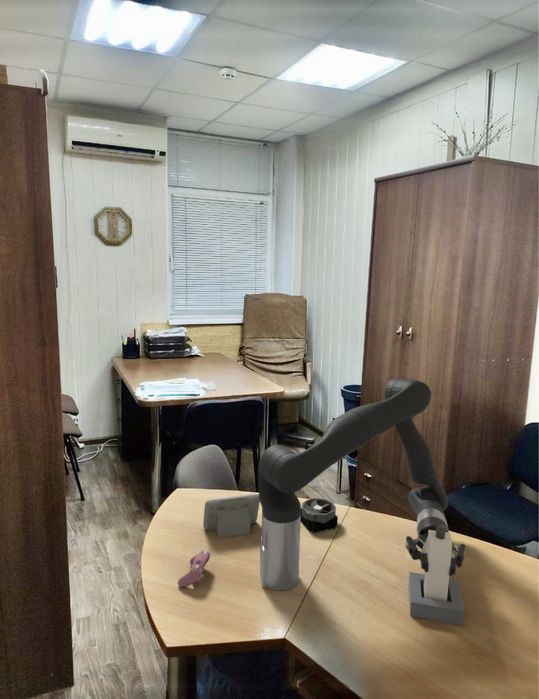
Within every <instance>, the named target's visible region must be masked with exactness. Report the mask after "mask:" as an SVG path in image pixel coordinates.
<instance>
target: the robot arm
mask: <svg viewBox="0 0 539 699" xmlns="http://www.w3.org/2000/svg"><path fill="white" fill-rule="evenodd" d="M383 393H384V394H383V395H384V396H383V398H384V400H380V401H376V402H373V403H369V404H364V405H361V406H357V407H354V408H351V409H350V410H347V411H346V412H344V413H342V414H340V415H339V416H337V417H335V418H334V419H333V420H331V422H329V423H328V425H327V427H326V428H325V431H324V432H323V434H322V436H321V438H320V440H318V442H316V443H314V445H311V446H310V447H309V448H307V449H305V450H303V451H300V452H298V453H297V452H296V451H293V450H291V449H290V448H288V447H286V446H284V445H281V444H273V445H270V446H269V447H268V448H266V449H265V451H264V452H263V453H262V455H261V457H260V459H259V463H258V470H257V474H258V475H257V476H258V477H257V478H258V479H257V480H258V494H259V500H260V506H261V537H260V538H259V539H260V544H259V549H260V550H259V551H260V552H259V576H260V580H261V587H262V588H268V589H271V590H273V591H274V590H275V591H286V590H290V589H292V588H294V587H295V586H297V584H298V583H299V579H300V578H299V575H300V548H301V547H300V546H301V545H300V544H301V543H300V542H301V522H300V521H301V508H302V503H301V502H300V499H299V498H298V496H297V494H296V492H298V491H300V490H302V489H303V488H305V487H306V486H308V485H309V484H310V483H311V482H312V481H314V479H316V478H317V477H319V475H321V474H322V473H324V472H325V471H326V470H328V469H329V468H330V467H332V466H333V465H335V464H336V463H338V462H339V461H341V460H342V459H344V458H345V457H347V456H348V455H350V454H351V453H353V452H355V451H357V450H358V449H360V448H361V447H363V446H366V444H368V443H369V442H371V441H373V439H376V438H377V437H379V436H380V435H383V433H385V432H386V431H388V430H390V429H392V428H393V427H394V428H395V431H396V432H397V434H398V438H399V440H400V443H401V445H402V449H403V451H404V452H403V453H404V455H405V460H406V465H407V469H408V473H409V474H408V475H409V477H410V481H412V482H413V483H415V484H419V485H426V486H419V487H414V488H412V489H411V490H410V491H409V492H408V496H407V498H408V503H409V506H410V507H411V510H412V511H413V513H414V514H415V515H416V519H417V520H416V531H417V532H416V533H417V537H416V539H415V538H414V539H413V538H412V537H411V535H410V536H409V535H407V536H406V537H405V538H406V539H405V548H406V550H407V552H408V554H409V555H410V557H411V559H412V560H414V561H417V560H418V561H420V568H421V569H422V570H423V571H424V573H425V572H428V566H429V563H428V557H427V542H428V531H429V530H433V531H436V525H439V524H440V525H444V526H445V527H446V532H448V533H450V530H449V526H448V523H447V519H446V517H445V513H444V512H445V510H446V509H447V507H448V504H449V498H448V496H447V492H446V491H445V489H444V487H443V485H442V484H441V482H440V481H439V478H438V476H437V472H436V469H435V464H434V460H433V456H432V451H431V450H430V448H429V445H428V443H427V441H426V440H425V438H424V437H423V436H422V434H421V432H420V431H419V430H418V428H417V426H416V425H415V421H414V420H413V417H415V416H418V415H419V414H421V413H423V412H424V411H425V410H426V409H427V408H428V406H429V405H430V403H431V399H432V391H431V389H430V387H429V386H428V384H426V382H424V381H421V380H418V379H411V378H393V379H392V378H391V379H390V380H389V381H388V382H387V384H386V385H385V387H384V391H383ZM419 549H420V550H419ZM453 551H454V552H455V554H456V556H455V555H454V553H453ZM465 554H466V544H464V543H460V544H459V545H456V544H454V542H453V541H452V553H451V563H450V570H449V577H453V575H455V574H456V573H457V570H456V569H457V567H458V568H461V567H462V565H463V562H464V559H465V556H466V555H465Z"/></svg>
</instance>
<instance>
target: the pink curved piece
mask: <svg viewBox="0 0 539 699" xmlns="http://www.w3.org/2000/svg"><path fill="white" fill-rule="evenodd" d="M211 555H212V553H211V552H209V551H208V550H204V549H202V550H200V552H199V553H197V554H195V555H194V556H192V557H191V558H190V560H189V565H191V568H190V569H189V571H188V572H187V573H185V574H184V575H183V576H181V577H180V578H179V579H178V581H177V585H178V586H179V587H180V588H186V587H190V586H192V585H193V584H195V583H196V582H197V581H198V580H199V579H202V578H204V574H203V572H204V570H205V567H206V565H207V563H208V562H209V560H210V558H211Z"/></svg>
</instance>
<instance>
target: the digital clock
mask: <svg viewBox="0 0 539 699" xmlns="http://www.w3.org/2000/svg"><path fill="white" fill-rule="evenodd" d="M260 505H261V503H260V500H259V493H247V494H240V495H229V496H223V497H215V498H210V499H209V498H208V499H207V500H206V501H205V503H204V510H203V511H204V512H203V522H202V523H203V524H202V526H203V528H204V529H205V530H206V531H212V530H216V533H217V534H218V538H219V539H223V538H231V537H237V536H243V535H249V534H251V525H252V524H255V523H256V522H257V520H258V515H259V510H260Z"/></svg>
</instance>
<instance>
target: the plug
mask: <svg viewBox="0 0 539 699" xmlns="http://www.w3.org/2000/svg"><path fill="white" fill-rule="evenodd" d="M452 542H453V540H452V536H451V532H449V533H448V532H446V527H445V526H444V525H440V524H439V525H436V531H433V530H429V531H428V542H427V557H428V563H429V566H428V572H425V571H424V574H425V577H424V588H423V593H422V597H424V598H430V599H436V600H442V601H448V598H447V594H448V584H449V578H450V576H449V570H450V563H451V553H452V554H453V551H452Z"/></svg>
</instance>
